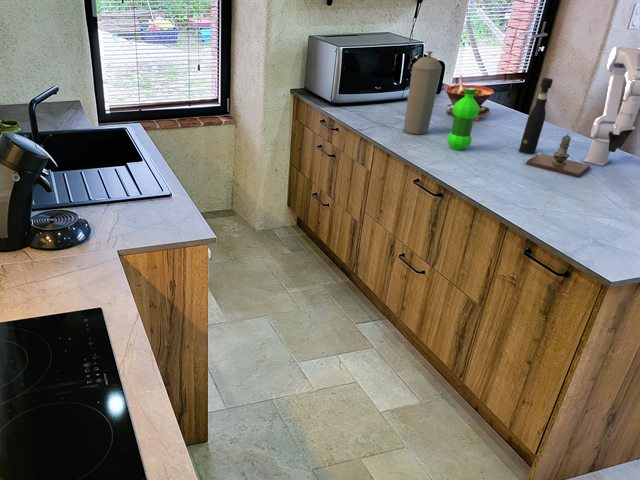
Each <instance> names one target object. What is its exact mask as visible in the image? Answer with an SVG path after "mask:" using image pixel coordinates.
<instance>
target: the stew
mask: <svg viewBox="0 0 640 480" xmlns="http://www.w3.org/2000/svg"><path fill="white" fill-rule="evenodd" d="M458 81H459V84H453V85H449V86H447V87H445V89H444V91H445V92H446V94H447V96H448V99H449V100H450V102H451V103H449V104H446V105H445V107H444V108H445V110H447V115H449V116H451V117H453V118H454V117H455V115H454V113H453V106H454V104H455V103H456V102H458V101H459V100H460V99H462V98H464V97H465V93H464V92H465V88H475V89H476V92H475V94H474V95H473V99H474V100H475V101H476V102H477V104H478V105H479V108H480V110H479V113H478V116H476V117H475V118H474V122H479V119H480V118H482V117H488V116H490V115H491V114H492V111H491V110H490V107H488V106H484V105H483V104H484V103H485V102H487V100H488V99H489V98H491V96H493V95H494V94H495V90H494V89H492V88H489V87H486V86H482V85H475V84H463V75H461V74H460V75H459V79H458ZM451 106H452V108H451ZM447 107H449V109H448V108H447Z"/></svg>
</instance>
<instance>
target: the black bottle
mask: <svg viewBox="0 0 640 480" xmlns="http://www.w3.org/2000/svg"><path fill="white" fill-rule="evenodd" d="M553 81H554V79H553V78H549V77H544V78H542V79H541V83H540V86H539V87H540V88H541V89H540V92H539V94H538V96H537V97H536V101H535V105H534V106H533V107H532V109H531V111H530V112H529V115H528V117H527V120H526V123H525V127H524V131H523V134H522V138H521V141H520V145H519V148H518V151H519V152H520V153H522V154H524V155H534V154H535V153H536V151H537V147H538V143H539V140H540V137H541V133H542V130H543V127H544V124H545V120H546V105H547V101H548V92H549V90H550V89H551V88H552V85H553Z"/></svg>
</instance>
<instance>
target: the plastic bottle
mask: <svg viewBox="0 0 640 480" xmlns="http://www.w3.org/2000/svg"><path fill="white" fill-rule="evenodd" d="M475 92H476V89H475V88H465V92H464V93H465V97H464V98H462V99H460V100H459V101H458V102H456V103H455V104H454V106H453V105H452V108H453V113H454V115H455V117H454V116H453V121H452V126H451V131H450V133H449V134H448V136H447V143H448V145H449V147H450V148H451V149H452V150H454V151H463V150H465V149H467V148H468V147H470V145H471V143H472V140H473V139H472V135H471V133H472V130H473V126H474V122H475V121H474V118H476V116H478V113H479V110H480V108H479V105H478V104H477V102H476V101H475V100H474V99H473V95H474V94H475Z"/></svg>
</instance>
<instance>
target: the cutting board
mask: <svg viewBox="0 0 640 480" xmlns="http://www.w3.org/2000/svg"><path fill="white" fill-rule="evenodd" d="M553 160H555V159H554V155H551V154H548V153H547V154H546V153H543V152H539V153H538V154H536V155H534V156H533V157H530V159H528V160H526V165H527V166H531V167H535V168H538V169H542V170H546V171H551V172H554V173H558V174H562V175H565V176H570V177H574V178H579V177H581V175H583V174H584V173H586V172H587V171H588V170H589V169H590V168H591V164H588V163H583V162H579V161H575V160H572V159H567V160H565V161H564V162H565V163H566V165H556V164H553V163H552V161H553Z"/></svg>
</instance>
